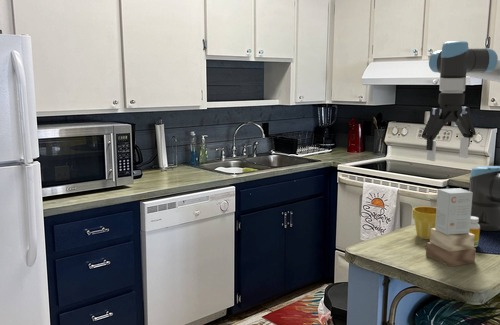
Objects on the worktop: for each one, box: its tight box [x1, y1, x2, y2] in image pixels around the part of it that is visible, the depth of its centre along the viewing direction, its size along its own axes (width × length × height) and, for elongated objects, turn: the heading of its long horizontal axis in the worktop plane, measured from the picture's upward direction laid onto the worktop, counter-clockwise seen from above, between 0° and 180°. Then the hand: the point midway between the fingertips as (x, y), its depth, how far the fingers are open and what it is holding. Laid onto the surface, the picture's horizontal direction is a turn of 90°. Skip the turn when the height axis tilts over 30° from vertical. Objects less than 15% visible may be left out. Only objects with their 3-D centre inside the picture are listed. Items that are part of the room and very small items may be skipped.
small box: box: [435, 187, 473, 235], centre depth 151 cm, size 8×6×13 cm
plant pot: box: [412, 205, 436, 240], centre depth 173 cm, size 10×10×10 cm
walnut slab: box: [425, 241, 477, 267], centre depth 153 cm, size 10×10×4 cm
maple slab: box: [429, 228, 475, 252], centre depth 152 cm, size 9×9×4 cm
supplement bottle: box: [469, 216, 481, 248], centre depth 165 cm, size 5×5×10 cm
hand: (447, 158), depth 157 cm, fingers open, 13 cm apart
